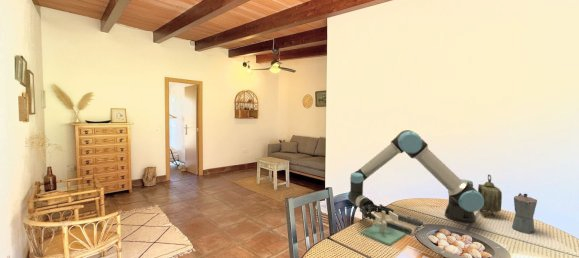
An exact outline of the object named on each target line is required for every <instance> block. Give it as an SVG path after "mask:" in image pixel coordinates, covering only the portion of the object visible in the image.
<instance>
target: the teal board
mask: <svg viewBox="0 0 579 258" xmlns="http://www.w3.org/2000/svg"><path fill="white" fill-rule="evenodd" d="M362 234H363V235H362ZM360 235H362V236H364V235H365V237H367V238H369V239H372V240H373V241H376V242H379V243H381V244H383V245H385V246H387V247H390V246H392V245H394V244H395V243H397V242H398V241H399V240H401V239H403V238H405V237H406V236H407V234H406V233H403V232H401V231H398V230H395V229H392V228H390V227H387V226H386V227H385V231H382V230H381V223H380V224H379V223H378V222H376V223H375V224H374V225H371V226H369V227H367V228H366V229H363V230H361V231H360Z"/></svg>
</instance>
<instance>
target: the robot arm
mask: <svg viewBox="0 0 579 258" xmlns="http://www.w3.org/2000/svg"><path fill="white" fill-rule="evenodd" d="M402 153H403V154H404V153H405V154H407V156H408V157H409V158H410V159H415V160H416V161H418V163H420V165H422V167H424V168H425V169H426V170H427V171H428V172H429V173H430V174H431V175H432V176H433V177H434V178H435V179H436V180H437V181H438V182H439V183H440V184H441V185H442V186H444V187H445V189H446V190H447V194H448V204H447V206H446V208H445V210H444V217H445V218H447V219H449V220H450V221H454V222H457V223H463V224H472V223H475V222H476V216H475V212H478V211H480V209H481V208H482V207H483V205H484V198H483V196H482V194H481V193H479V192H478V189H476V188H475V187H474V183H473V180H469V179H462V178H460V177H459V176H457V174H456V173H454V172H453V171H452V170H451V169H450V168H449V167H448V166H447V165H446V164H445V163H444V162H443V161H442V160H440V158H439V157H438V156H436V154H434V152H433V151H431V150H430V149H429V145H428V143H427V142H426V141H425V140H423V138H422V137H421V135H419V134H418V133H416V132H414V131H413V130H409V129H408V130H407V129H406V130H402V131H401V132H399V133H398V134H397V135H396V136H395V137H394V138H393V139H392V140H391V141H390V144H389V145H387V146H386V147H384V149H382V150H381V151H379V153H377V154H376V155H375V156H374V157H372V158H371V159H370V160H369V161H367V162H366V163H365V164H364V165H363V166H361V167H360V168H359V169H358V170H355V171H354V172H352V173H351V174H350V178H349V179H350V180H349V181H350V191H349V192H348V193H347V200H348V201H349V202H350V203H351V204H353V205H355V206H356V207H357V208H358V209H359V212H360V213H362V215H363V216H364V218H365V219H368V220H372V221H373V220H375V221H376V222H375V223H379V224H381V218H380V216H378V215H377V214H376V213H378V214H379V213H381V214H382V211H385V216H386V215H387V216H388V217H389V218H390V219H394V221H396V222H398V221H399V220H398V215H399V214H396V213H394V209H392V208H390V207H387V206H384V205H382V204H379V205H377V204H375V203H374V202H373V200H372V199H370V198H368V197H366V196H365V195H364V181H366V180H367V179H368V178H369V177H370V176H372V175H373V174H374V173H375V172H377V171H378V170H380V169H381V168H382V167H383V166H384V165H386V164H387V163H389V162H390V161H391V160H392V159H394V158H395V157H396V156H397V155H398V154H402Z"/></svg>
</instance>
